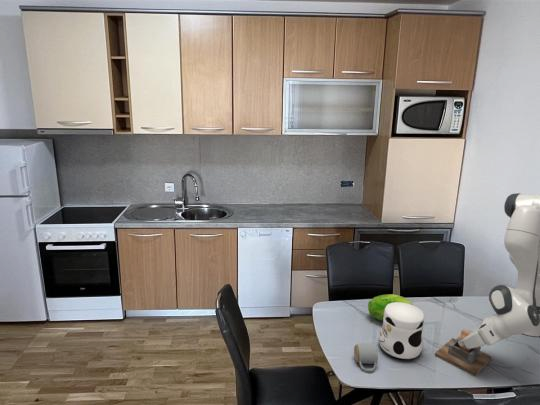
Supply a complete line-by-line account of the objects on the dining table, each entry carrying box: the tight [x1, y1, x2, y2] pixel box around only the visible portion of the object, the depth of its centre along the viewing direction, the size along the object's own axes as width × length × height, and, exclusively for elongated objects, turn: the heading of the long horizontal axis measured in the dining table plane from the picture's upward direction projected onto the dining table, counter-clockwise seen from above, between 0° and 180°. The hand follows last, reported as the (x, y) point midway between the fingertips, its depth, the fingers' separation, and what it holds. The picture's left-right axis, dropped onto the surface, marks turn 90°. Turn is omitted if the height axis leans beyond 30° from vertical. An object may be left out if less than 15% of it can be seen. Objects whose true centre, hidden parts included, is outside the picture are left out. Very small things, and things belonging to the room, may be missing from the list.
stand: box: [434, 336, 492, 377], centre depth 159 cm, size 16×16×6 cm
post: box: [459, 329, 472, 353], centre depth 158 cm, size 4×4×10 cm
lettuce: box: [367, 293, 413, 322], centre depth 185 cm, size 13×23×12 cm, turn 103°
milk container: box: [378, 302, 425, 360], centre depth 161 cm, size 17×17×18 cm
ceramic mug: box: [353, 342, 379, 373], centre depth 153 cm, size 11×8×8 cm
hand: (464, 338), depth 158 cm, fingers open, 8 cm apart
